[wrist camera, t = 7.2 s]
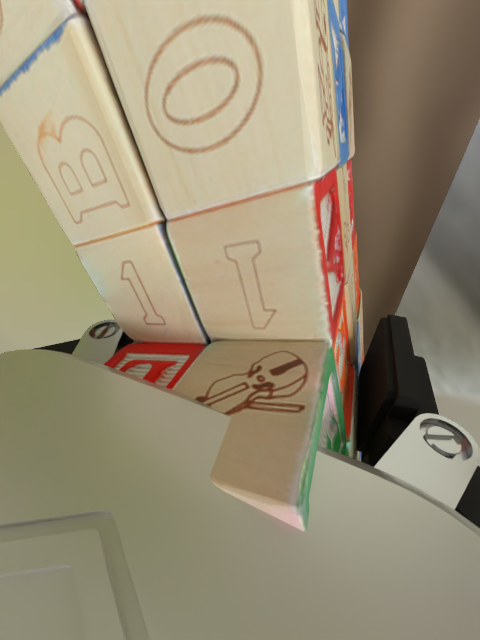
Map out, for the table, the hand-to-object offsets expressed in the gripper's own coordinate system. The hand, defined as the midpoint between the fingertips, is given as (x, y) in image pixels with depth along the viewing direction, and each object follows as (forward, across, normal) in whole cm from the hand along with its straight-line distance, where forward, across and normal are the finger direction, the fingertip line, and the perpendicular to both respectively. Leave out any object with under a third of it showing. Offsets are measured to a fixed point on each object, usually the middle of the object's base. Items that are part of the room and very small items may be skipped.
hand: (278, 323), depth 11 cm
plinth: (+17, 0, 0) cm, 17 cm away
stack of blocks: (+5, 0, -1) cm, 5 cm away
